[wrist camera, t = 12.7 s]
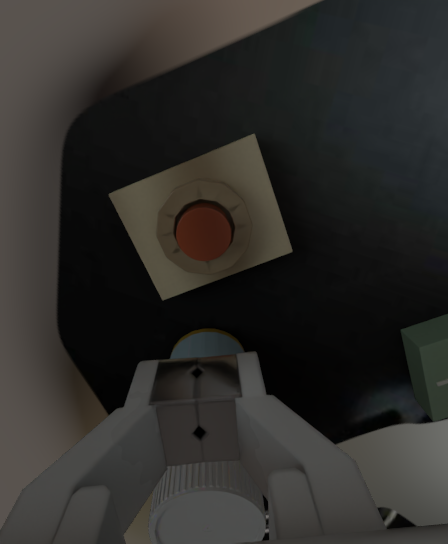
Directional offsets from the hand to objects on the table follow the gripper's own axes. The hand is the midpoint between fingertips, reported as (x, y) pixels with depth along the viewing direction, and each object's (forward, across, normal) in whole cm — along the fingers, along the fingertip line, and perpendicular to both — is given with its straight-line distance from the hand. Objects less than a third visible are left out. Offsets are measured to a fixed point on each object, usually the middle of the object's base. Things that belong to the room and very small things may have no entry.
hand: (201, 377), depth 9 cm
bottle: (+19, +1, +13) cm, 23 cm away
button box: (+19, 0, 0) cm, 19 cm away
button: (+15, 0, 0) cm, 15 cm away
